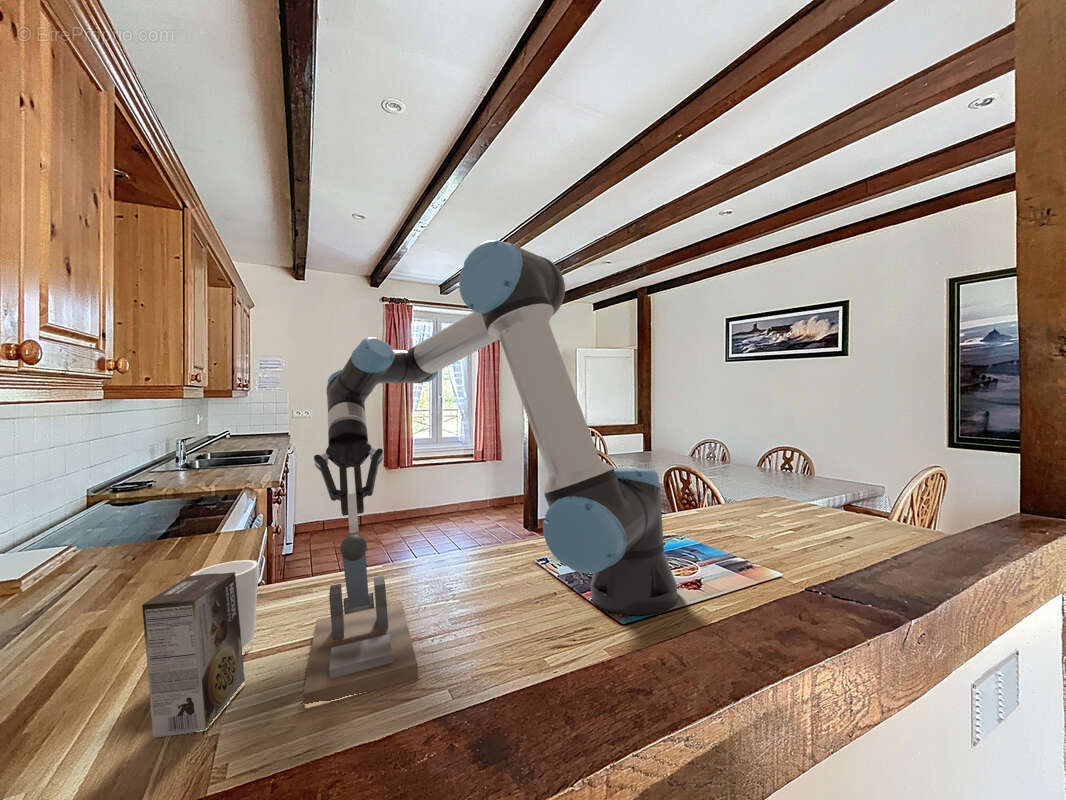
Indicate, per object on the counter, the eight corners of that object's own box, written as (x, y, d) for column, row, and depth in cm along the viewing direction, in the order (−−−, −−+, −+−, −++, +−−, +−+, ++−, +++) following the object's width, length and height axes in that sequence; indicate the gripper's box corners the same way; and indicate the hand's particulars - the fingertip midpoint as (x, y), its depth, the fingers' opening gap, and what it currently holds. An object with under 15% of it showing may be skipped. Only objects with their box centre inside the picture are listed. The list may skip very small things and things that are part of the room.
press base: (317, 631, 80) (313, 578, 80) (402, 612, 85) (398, 562, 84) (304, 709, 59) (298, 638, 59) (418, 678, 64) (413, 612, 64)
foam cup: (230, 670, 69) (223, 583, 69) (177, 667, 71) (171, 582, 71) (277, 637, 79) (271, 559, 78) (230, 635, 80) (224, 559, 80)
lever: (344, 600, 77) (335, 531, 66) (372, 594, 78) (368, 526, 68) (345, 621, 74) (336, 553, 64) (374, 614, 76) (370, 547, 65)
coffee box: (197, 691, 65) (188, 574, 64) (246, 686, 65) (237, 570, 65) (149, 739, 56) (138, 603, 55) (207, 732, 56) (196, 598, 56)
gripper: (380, 438, 103) (392, 533, 88) (315, 444, 98) (315, 546, 83) (380, 414, 98) (392, 511, 83) (311, 419, 93) (310, 523, 78)
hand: (353, 528), depth 83 cm, fingers closed
